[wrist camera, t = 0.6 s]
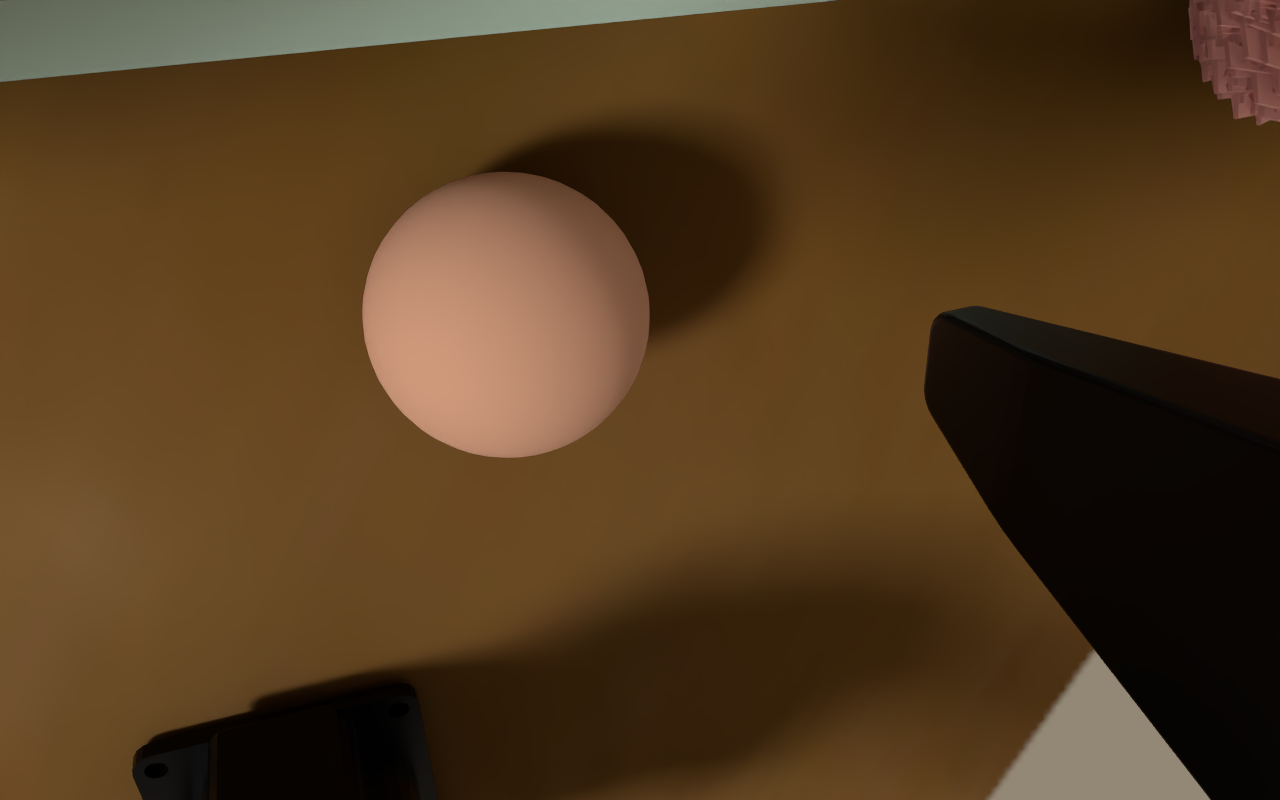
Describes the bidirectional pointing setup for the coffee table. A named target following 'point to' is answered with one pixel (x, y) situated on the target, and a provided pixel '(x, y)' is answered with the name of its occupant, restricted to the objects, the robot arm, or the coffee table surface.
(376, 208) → the coffee table surface
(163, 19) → the sage green shelf frame
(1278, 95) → the flower
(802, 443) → the coffee table surface
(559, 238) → the ball
